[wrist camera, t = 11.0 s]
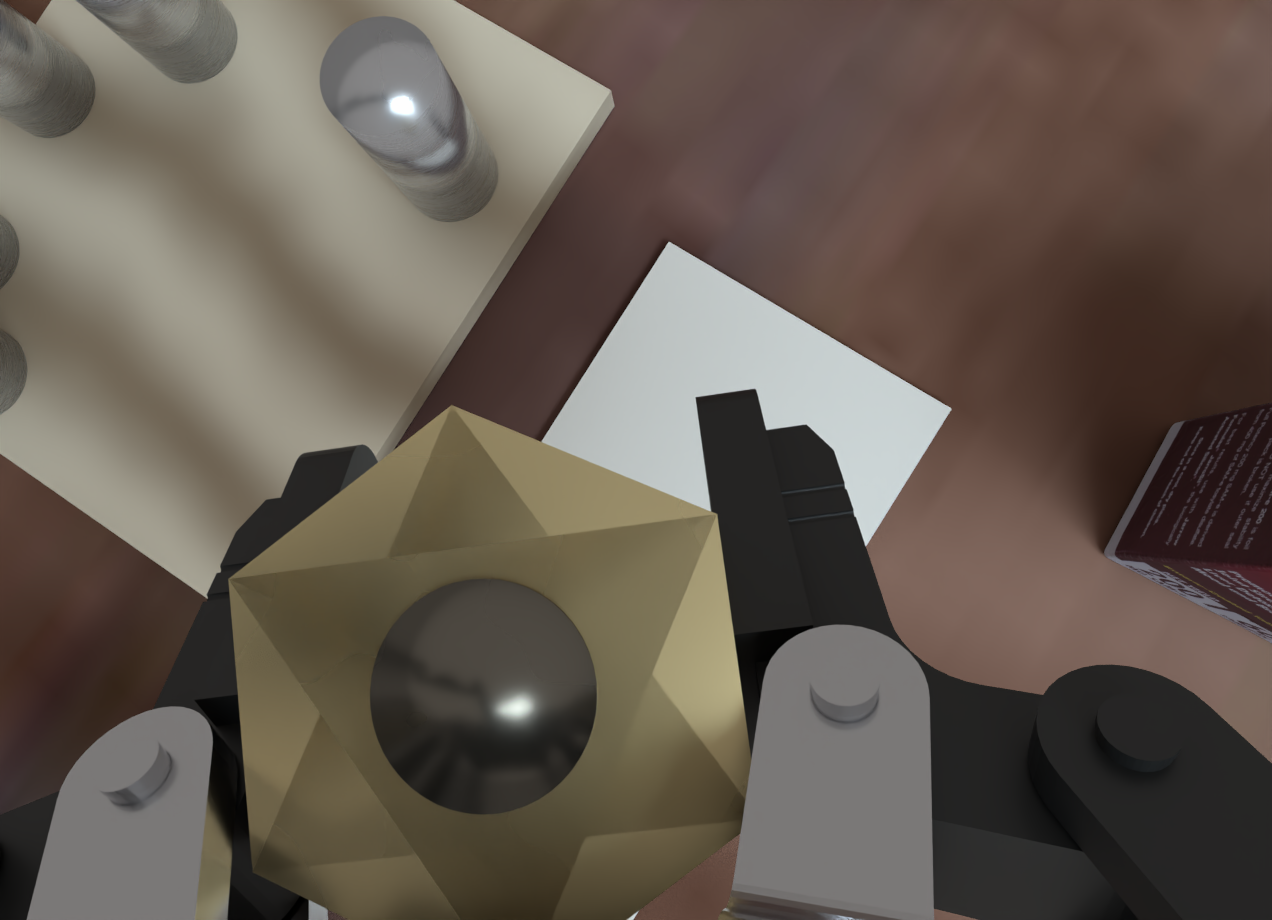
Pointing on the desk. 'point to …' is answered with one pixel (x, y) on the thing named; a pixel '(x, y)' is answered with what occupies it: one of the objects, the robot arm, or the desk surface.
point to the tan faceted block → (489, 688)
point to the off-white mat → (734, 361)
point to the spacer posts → (201, 48)
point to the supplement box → (1208, 517)
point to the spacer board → (251, 265)
